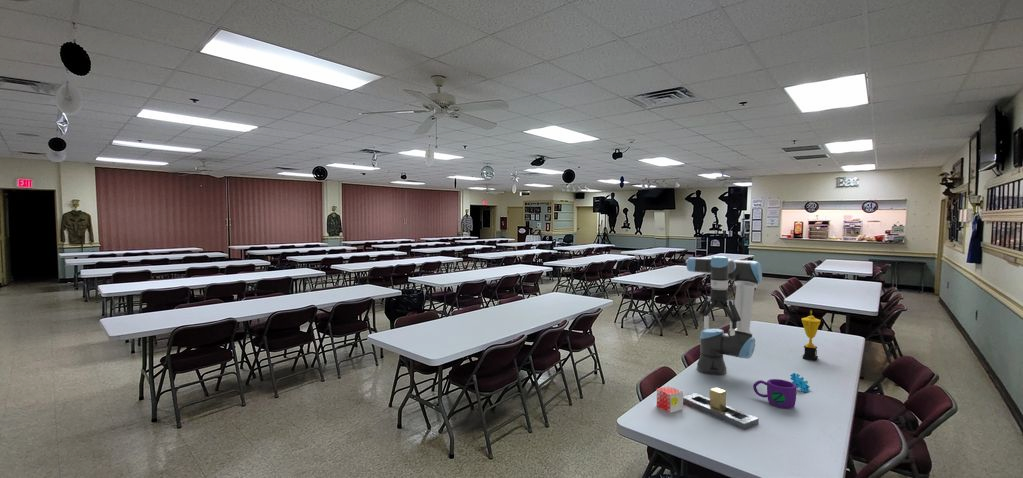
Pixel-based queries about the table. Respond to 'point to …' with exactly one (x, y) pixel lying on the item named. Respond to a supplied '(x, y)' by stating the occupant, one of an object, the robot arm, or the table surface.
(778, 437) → the table surface
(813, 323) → the trophy
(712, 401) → the brass peg
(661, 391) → the red patterned cube
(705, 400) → the rail
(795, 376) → the gear
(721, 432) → the table surface
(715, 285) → the robot arm
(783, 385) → the mug
